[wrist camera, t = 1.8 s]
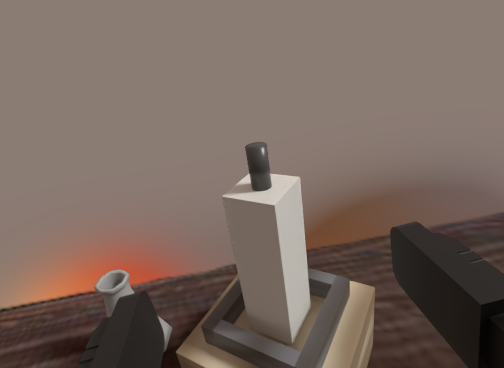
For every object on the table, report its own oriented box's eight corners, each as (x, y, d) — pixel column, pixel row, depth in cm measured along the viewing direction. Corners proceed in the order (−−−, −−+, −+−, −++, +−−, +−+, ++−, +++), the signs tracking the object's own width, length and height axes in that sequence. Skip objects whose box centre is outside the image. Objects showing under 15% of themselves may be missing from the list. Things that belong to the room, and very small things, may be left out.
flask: (135, 314, 41) (108, 253, 37) (183, 324, 39) (160, 260, 34) (94, 367, 35) (56, 301, 31) (147, 383, 33) (115, 314, 28)
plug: (249, 328, 27) (213, 155, 20) (270, 295, 30) (245, 134, 23) (292, 345, 25) (268, 160, 18) (310, 308, 28) (296, 136, 21)
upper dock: (196, 408, 30) (169, 335, 26) (262, 306, 40) (251, 240, 35) (333, 491, 23) (328, 413, 19) (372, 345, 33) (375, 270, 29)
